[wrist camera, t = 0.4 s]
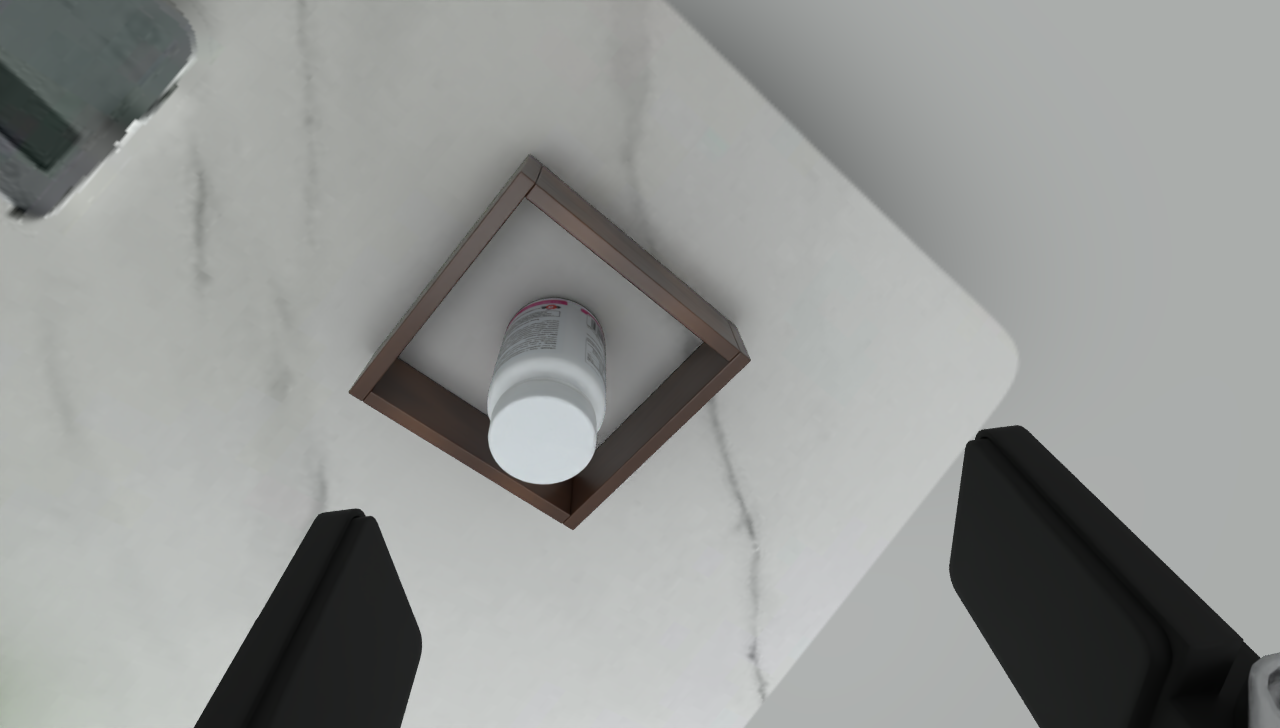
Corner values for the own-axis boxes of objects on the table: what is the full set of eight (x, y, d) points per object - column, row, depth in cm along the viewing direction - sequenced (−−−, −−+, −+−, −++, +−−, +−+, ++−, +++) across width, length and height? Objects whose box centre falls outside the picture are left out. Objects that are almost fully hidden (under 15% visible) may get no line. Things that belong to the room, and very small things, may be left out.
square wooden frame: (372, 356, 32) (347, 392, 28) (529, 153, 28) (520, 170, 24) (575, 486, 36) (573, 531, 33) (737, 327, 32) (751, 360, 29)
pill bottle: (492, 366, 32) (459, 472, 25) (523, 280, 30) (498, 367, 23) (584, 397, 33) (579, 507, 26) (620, 316, 31) (626, 410, 24)
